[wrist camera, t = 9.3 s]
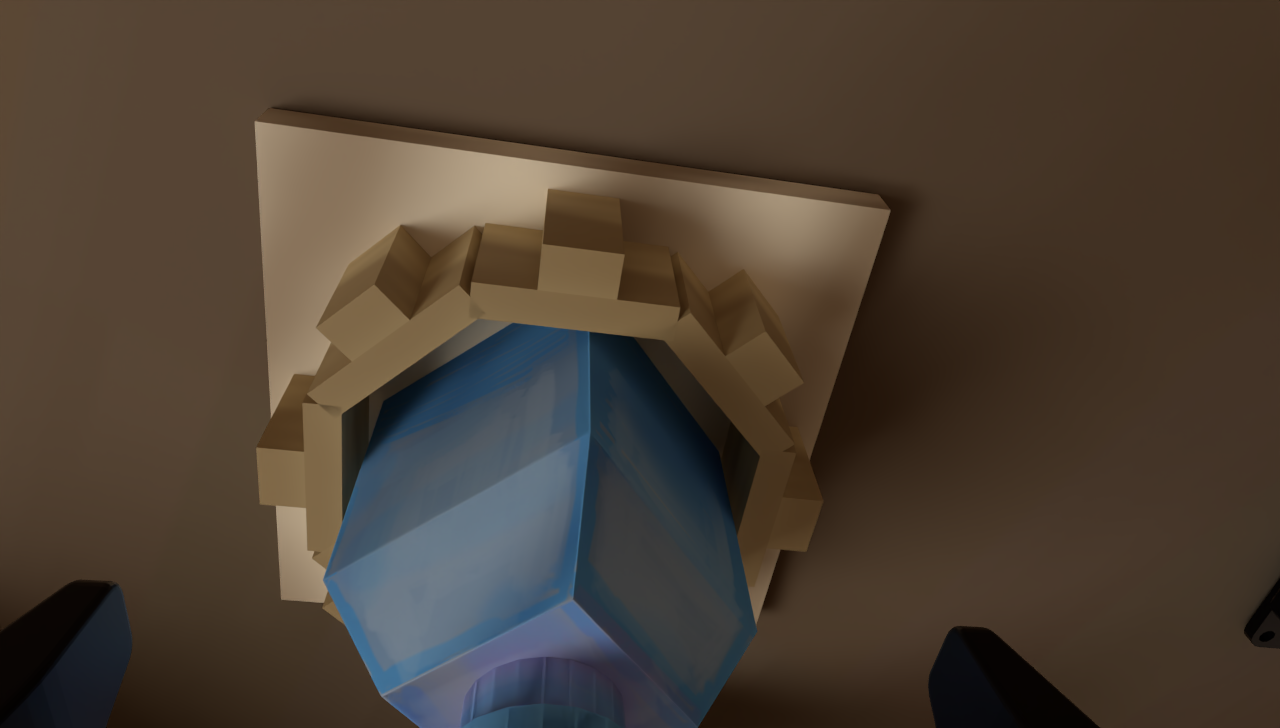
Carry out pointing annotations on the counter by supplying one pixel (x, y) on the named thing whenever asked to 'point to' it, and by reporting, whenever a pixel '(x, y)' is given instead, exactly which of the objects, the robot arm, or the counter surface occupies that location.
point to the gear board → (543, 303)
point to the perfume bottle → (543, 543)
